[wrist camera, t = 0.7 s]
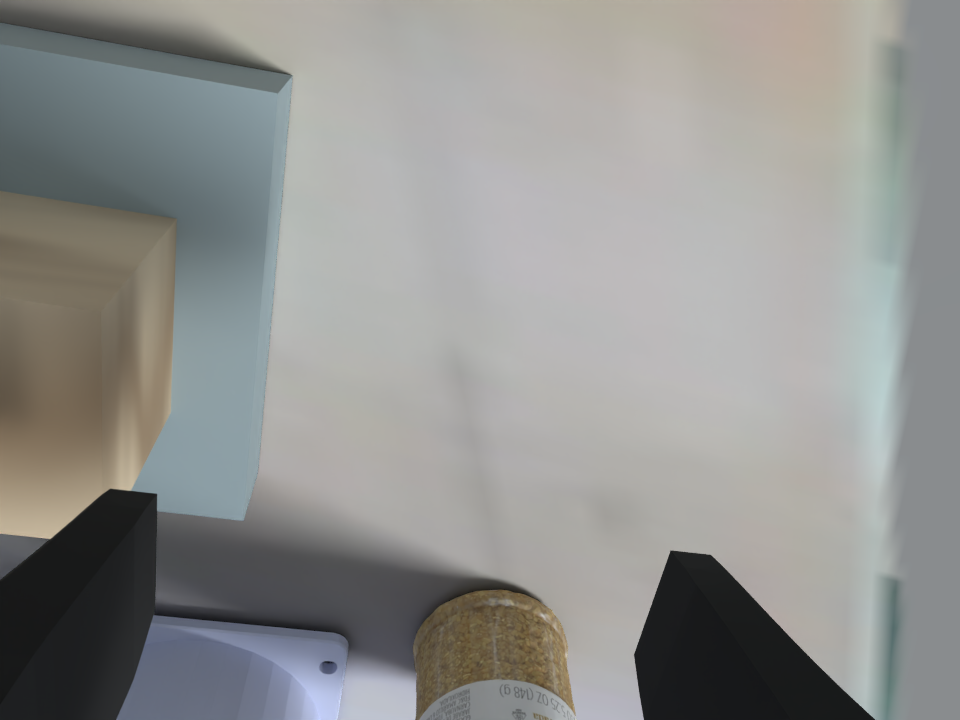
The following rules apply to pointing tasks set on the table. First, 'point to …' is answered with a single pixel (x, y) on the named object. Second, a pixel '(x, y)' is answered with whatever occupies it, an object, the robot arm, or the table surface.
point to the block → (79, 354)
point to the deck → (176, 194)
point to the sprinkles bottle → (492, 660)
